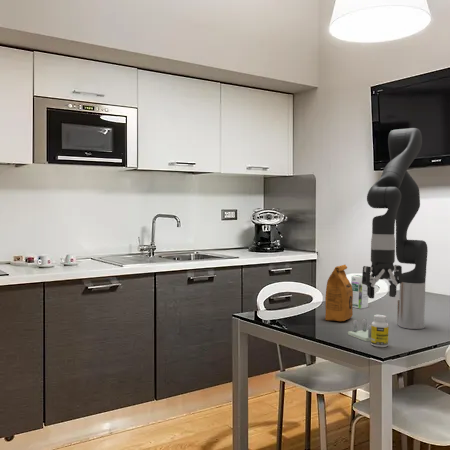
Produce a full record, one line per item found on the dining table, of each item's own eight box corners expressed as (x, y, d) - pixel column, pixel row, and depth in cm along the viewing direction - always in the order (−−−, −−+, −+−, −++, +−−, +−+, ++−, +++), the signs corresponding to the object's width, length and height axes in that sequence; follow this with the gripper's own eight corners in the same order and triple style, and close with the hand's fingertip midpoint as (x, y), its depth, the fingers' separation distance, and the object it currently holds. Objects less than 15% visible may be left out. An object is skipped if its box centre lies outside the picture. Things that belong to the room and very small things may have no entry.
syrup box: (350, 307, 233) (350, 275, 233) (358, 305, 237) (359, 274, 236) (360, 309, 229) (360, 276, 228) (368, 307, 232) (369, 276, 232)
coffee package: (356, 318, 208) (357, 265, 208) (345, 324, 198) (346, 267, 198) (333, 315, 214) (334, 263, 213) (321, 320, 204) (322, 265, 203)
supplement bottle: (375, 347, 164) (376, 317, 164) (368, 343, 170) (368, 314, 169) (391, 347, 165) (391, 317, 165) (383, 342, 170) (384, 313, 170)
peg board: (347, 334, 181) (348, 320, 181) (368, 332, 185) (368, 318, 185) (365, 341, 172) (365, 326, 172) (387, 339, 176) (387, 324, 175)
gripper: (392, 247, 172) (391, 294, 173) (357, 247, 167) (356, 296, 167) (408, 248, 165) (407, 298, 166) (372, 249, 160) (371, 300, 161)
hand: (381, 297), depth 167 cm, fingers open, 8 cm apart
